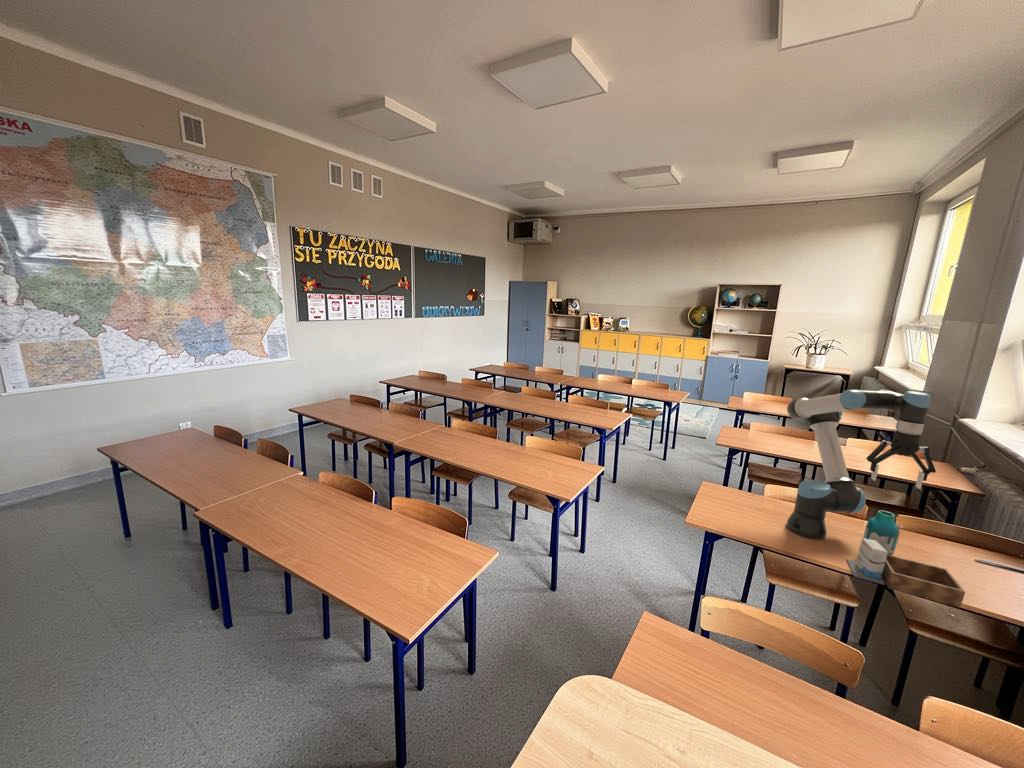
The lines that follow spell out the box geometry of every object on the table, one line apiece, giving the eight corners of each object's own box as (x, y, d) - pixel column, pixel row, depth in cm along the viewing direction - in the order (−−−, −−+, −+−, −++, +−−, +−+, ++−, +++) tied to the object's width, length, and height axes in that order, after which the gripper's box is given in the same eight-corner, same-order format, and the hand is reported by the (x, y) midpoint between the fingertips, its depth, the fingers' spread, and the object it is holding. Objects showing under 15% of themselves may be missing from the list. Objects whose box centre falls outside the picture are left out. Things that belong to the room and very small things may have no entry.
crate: (888, 588, 155) (892, 572, 154) (876, 567, 168) (880, 552, 166) (960, 608, 146) (965, 591, 145) (941, 583, 159) (946, 568, 158)
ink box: (881, 579, 159) (888, 552, 157) (866, 576, 160) (873, 549, 158) (869, 566, 167) (876, 539, 165) (855, 563, 168) (861, 537, 166)
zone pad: (854, 576, 161) (854, 575, 161) (846, 560, 171) (846, 558, 171) (883, 584, 157) (884, 583, 157) (874, 567, 167) (874, 566, 167)
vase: (898, 565, 170) (909, 522, 166) (866, 558, 173) (876, 516, 169) (885, 550, 180) (896, 510, 176) (855, 545, 183) (865, 504, 179)
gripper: (869, 428, 162) (858, 479, 166) (957, 441, 151) (941, 495, 155) (864, 423, 168) (853, 472, 173) (947, 435, 158) (933, 487, 162)
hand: (895, 483), depth 164 cm, fingers open, 13 cm apart
